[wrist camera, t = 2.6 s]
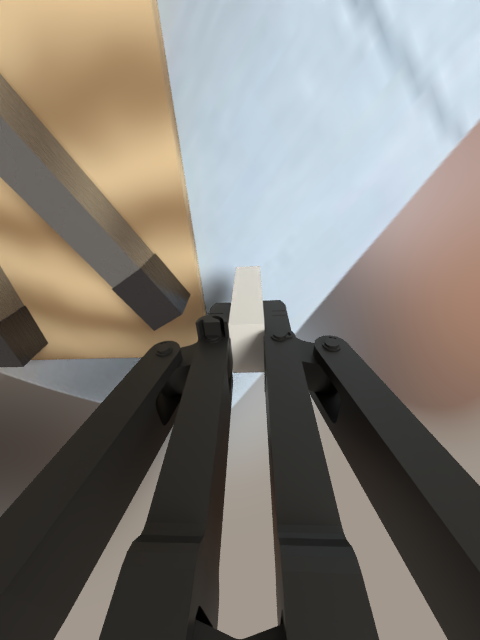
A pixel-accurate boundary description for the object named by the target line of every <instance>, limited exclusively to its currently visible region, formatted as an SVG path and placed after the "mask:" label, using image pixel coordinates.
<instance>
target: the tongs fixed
mask: <svg viewBox="0 0 480 640" xmlns="http://www.w3.org/2000/svg"><path fill="white" fill-rule="evenodd" d="M47 344H48V342H47V340H46V338H45V337H44V335H43V333H42V332H41V330H40V328H39V327H38V325H37V323H36V322H35V320H34V318H33V317H32V315H31V313H30V312H29V310H28V309H27V307H26V306H25V305H24V304H23V302H22V301H21V299H20V297H19V296H18V294H17V292H16V291H15V289H14V287H13V286H12V284H11V282H10V281H9V279H8V278H7V276H6V274H5V273H4V271H3V269H2V268H1V266H0V367H24V366H25V365H26V364H27V363H28V362H29V361H30V360H31V359H32V358H33V357H34V356H35V355H36V354H37V353H38V352H40V351H41V350H42V349H43V348H44V347H45V346H46V345H47Z"/></svg>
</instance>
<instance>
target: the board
mask: <svg viewBox="0 0 480 640" xmlns="http://www.w3.org/2000/svg"><path fill="white" fill-rule="evenodd" d="M0 74H1V75H2V76H3V77H4V79H5V80H6V81H7V82H8V83H9V84H10V86H11V87H12V88H13V89H14V90H15V91H16V93H17V94H18V95H19V96H20V97H21V99H22V100H23V101H24V102H25V103H26V104H27V106H28V107H29V108H30V109H31V110H32V111H33V113H34V114H35V115H36V116H37V117H38V118H39V120H40V121H41V122H42V123H43V124H44V125H45V127H46V128H47V129H48V130H49V131H50V133H51V134H52V135H53V136H54V137H55V138H56V140H57V141H58V142H59V143H60V144H61V145H62V147H63V148H64V149H65V150H66V151H67V152H68V154H69V155H70V156H71V157H72V158H73V159H74V161H75V162H76V163H77V164H78V165H79V167H80V168H81V169H82V170H83V171H84V172H85V174H86V175H87V176H88V177H89V178H90V179H91V181H92V182H93V183H94V184H95V185H96V186H97V188H98V189H99V190H100V191H101V192H102V194H103V195H104V196H105V197H106V198H107V199H108V201H109V202H110V203H111V204H112V205H113V206H114V208H115V209H116V210H117V211H118V212H119V213H120V215H121V216H122V217H123V218H124V219H125V220H126V222H127V223H128V224H129V225H130V226H131V228H132V229H133V230H134V231H135V232H136V233H137V235H138V236H139V237H140V238H141V239H142V240H143V242H144V243H145V244H146V245H147V246H148V247H149V249H150V250H151V251H152V252H153V253H156V254H157V256H158V257H159V258H160V259H161V260H162V262H163V263H164V264H165V265H166V266H167V267H168V269H169V270H170V271H171V272H172V273H173V274H174V276H175V277H176V278H177V279H178V280H179V282H180V283H181V284H182V285H183V286H184V287H185V289H186V290H187V291H188V292H189V293H190V298H189V300H188V302H187V305H186V307H185V309H184V312H183V314H182V315H180V316H179V317H177V318H175V319H174V320H172V321H170V322H169V323H167V324H165V325H164V326H162V327H160V328H159V329H157V330H155V331H154V330H153V329H152V328H151V327H150V326H149V325H148V324H147V323H145V322H144V321H143V320H142V319H141V318H140V317H139V316H138V315H137V314H136V313H135V312H134V311H133V310H132V309H131V308H130V307H129V306H128V305H127V304H126V303H125V302H124V301H123V300H122V299H121V298H120V297H119V296H118V295H117V294H116V293H115V292H114V291H113V290H112V287H111V286H110V285H109V284H108V283H107V282H106V281H105V280H104V279H103V278H102V277H101V276H100V275H99V274H98V273H97V272H96V271H95V270H94V269H93V268H92V267H91V266H90V265H89V264H88V263H87V262H86V261H85V260H84V259H83V258H82V257H81V256H80V255H79V254H78V253H77V252H76V251H75V250H74V249H73V248H72V247H71V246H70V245H69V244H68V243H67V242H66V241H65V240H64V239H63V238H62V237H61V236H60V235H59V234H58V233H57V232H55V231H54V230H53V229H52V228H51V227H50V226H49V225H48V224H47V223H46V222H45V221H44V220H43V219H42V218H41V217H40V216H39V215H38V214H37V213H36V212H35V211H34V210H33V209H32V208H31V207H30V206H29V205H28V204H27V203H26V202H25V201H24V200H23V199H22V198H21V197H20V196H19V195H18V194H17V193H16V192H15V191H14V190H13V189H12V188H11V187H10V186H9V185H8V184H7V183H6V182H5V181H4V180H3V179H2V178H1V177H0V266H1V268H2V269H3V271H4V273H5V274H6V276H7V278H8V279H9V281H10V282H11V284H12V286H13V287H14V289H15V291H16V292H17V294H18V296H19V297H20V299H21V301H22V302H23V304H24V305H25V306H26V307H27V309H28V310H29V312H30V313H31V315H32V317H33V318H34V320H35V322H36V323H37V325H38V327H39V328H40V330H41V332H42V333H43V335H44V337H45V338H46V340H47V342H48V344H47V345H46V346H45V347H44V348H43V349H42V350H41V351H40V352H38V353H37V354H36V355H35V356H34V357H33V358H32V359H31V360H49V359H94V358H140V357H143V356H144V355H145V354H146V353H147V351H148V350H149V349H150V348H151V347H152V346H154V345H155V344H157V343H159V342H163V341H175V342H177V343H178V344H179V345H180V348H181V347H185V346H189V345H192V344H194V343H196V342H197V341H198V335H197V329H196V324H195V323H196V321H197V320H198V319H199V318H201V317H202V316H205V315H206V309H205V303H204V297H203V290H202V284H201V278H200V271H199V265H198V259H197V252H196V246H195V240H194V233H193V227H192V221H191V214H190V208H189V202H188V195H187V189H186V183H185V176H184V170H183V164H182V157H181V151H180V144H179V138H178V132H177V125H176V119H175V113H174V106H173V100H172V94H171V87H170V81H169V75H168V68H167V62H166V56H165V49H164V43H163V37H162V30H161V24H160V18H159V11H158V5H157V0H0Z"/></svg>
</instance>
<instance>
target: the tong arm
mask: <svg viewBox="0 0 480 640" xmlns="http://www.w3.org/2000/svg"><path fill="white" fill-rule="evenodd" d="M0 177H1V178H2V179H3V180H4V181H5V182H6V183H7V184H8V185H9V186H10V187H11V188H12V189H13V190H14V191H15V192H16V193H17V194H18V195H19V196H20V197H21V198H22V199H23V200H24V201H25V202H26V203H27V204H28V205H29V206H30V207H31V208H32V209H33V210H34V211H35V212H36V213H37V214H38V215H39V216H40V217H41V218H42V219H43V220H44V221H45V222H46V223H47V224H48V225H49V226H50V227H51V228H52V229H53V230H54V231H55V232H57V233H58V234H59V235H60V236H61V237H62V238H63V239H64V240H65V241H66V242H67V243H68V244H69V245H70V246H71V247H72V248H73V249H74V250H75V251H76V252H77V253H78V254H79V255H80V256H81V257H82V258H83V259H84V260H85V261H86V262H87V263H88V264H89V265H90V266H91V267H92V268H93V269H94V270H95V271H96V272H97V273H98V274H99V275H100V276H101V277H102V278H103V279H104V280H105V281H106V282H107V283H108V284H109V285H110V286H111V287H112V290H113V291H114V292H115V293H116V294H117V295H118V296H119V297H120V298H121V299H122V300H123V301H124V302H125V303H126V304H127V305H128V306H129V307H130V308H131V309H132V310H133V311H134V312H135V313H136V314H137V315H138V316H139V317H140V318H141V319H142V320H143V321H144V322H145V323H147V324H148V325H149V326H150V327H151V328H152V329H153V330H154V331H155V330H157V329H159V328H160V327H162V326H164V325H165V324H167V323H169V322H170V321H172V320H174V319H175V318H177V317H179V316H180V315H182V314H183V312H184V309H185V307H186V305H187V302H188V300H189V298H190V293H189V292H188V291H187V290H186V289H185V287H184V286H183V285H182V284H181V283H180V282H179V280H178V279H177V278H176V277H175V276H174V274H173V273H172V272H171V271H170V270H169V269H168V267H167V266H166V265H165V264H164V263H163V262H162V260H161V259H160V258H159V257H158V256H157V254H156V253H153V252H152V251H151V250H150V249H149V247H148V246H147V245H146V244H145V243H144V242H143V240H142V239H141V238H140V237H139V236H138V235H137V233H136V232H135V231H134V230H133V229H132V228H131V226H130V225H129V224H128V223H127V222H126V220H125V219H124V218H123V217H122V216H121V215H120V213H119V212H118V211H117V210H116V209H115V208H114V206H113V205H112V204H111V203H110V202H109V201H108V199H107V198H106V197H105V196H104V195H103V194H102V192H101V191H100V190H99V189H98V188H97V186H96V185H95V184H94V183H93V182H92V181H91V179H90V178H89V177H88V176H87V175H86V174H85V172H84V171H83V170H82V169H81V168H80V167H79V165H78V164H77V163H76V162H75V161H74V159H73V158H72V157H71V156H70V155H69V154H68V152H67V151H66V150H65V149H64V148H63V147H62V145H61V144H60V143H59V142H58V141H57V140H56V138H55V137H54V136H53V135H52V134H51V133H50V131H49V130H48V129H47V128H46V127H45V125H44V124H43V123H42V122H41V121H40V120H39V118H38V117H37V116H36V115H35V114H34V113H33V111H32V110H31V109H30V108H29V107H28V106H27V104H26V103H25V102H24V101H23V100H22V99H21V97H20V96H19V95H18V94H17V93H16V91H15V90H14V89H13V88H12V87H11V86H10V84H9V83H8V82H7V81H6V80H5V79H4V77H3V76H2V75H1V74H0Z"/></svg>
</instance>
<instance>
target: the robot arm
mask: <svg viewBox="0 0 480 640" xmlns="http://www.w3.org/2000/svg"><path fill="white" fill-rule="evenodd" d="M195 324H196V329H197V335H198V341H197V342H196V343H194V344H192V345H189V346H185V347H181V348H180V345H179V344H178V343H177V342H175V341H163V342H159V343H157V344H155V345H154V346H152V347H151V348H150V349H149V350H148V351H147V353H146V354H145V355H144V356H143V357H142V358H141V359H140V360H139V362H138V363H137V364H136V365H135V366H134V367H133V368H132V369H131V371H130V372H129V373H128V374H127V375H126V376H125V377H124V378H123V380H122V381H121V382H120V383H119V384H118V385H117V386H116V387H115V389H114V390H113V391H112V392H111V393H110V394H109V395H108V396H107V398H106V399H105V400H104V401H103V402H102V403H101V404H100V406H99V407H98V408H97V409H96V410H95V411H94V412H93V413H92V415H91V416H90V417H89V418H88V419H87V420H86V421H85V422H84V424H83V425H82V426H81V427H80V428H79V429H78V430H77V432H76V433H75V434H74V435H73V436H72V437H71V438H70V439H69V441H68V442H67V443H66V444H65V445H64V446H63V447H62V448H61V449H60V451H59V452H58V453H57V454H56V455H55V456H54V457H53V458H52V460H51V461H50V462H49V463H48V464H47V465H46V466H45V467H44V469H43V470H42V471H41V472H40V473H39V474H38V475H37V476H36V478H35V479H34V480H33V481H32V482H31V483H30V484H29V485H28V487H27V488H26V489H25V490H24V491H23V492H22V493H21V495H20V496H19V497H18V498H17V499H16V500H15V501H14V503H13V504H12V505H11V506H10V507H9V508H8V509H7V510H6V511H5V513H4V514H3V515H2V516H1V517H0V640H54V638H55V636H56V635H57V633H58V631H59V630H60V628H61V626H62V624H63V623H64V621H65V619H66V618H67V616H68V614H69V612H70V610H71V609H72V607H73V605H74V603H75V601H76V599H77V598H78V596H79V594H80V592H81V591H82V589H83V587H84V585H85V583H86V582H87V580H88V578H89V576H90V574H91V572H92V571H93V569H94V567H95V565H96V564H97V562H98V560H99V558H100V556H101V555H102V553H103V551H104V549H105V547H106V546H107V544H108V542H109V540H110V538H111V537H112V535H113V533H114V531H115V529H116V527H117V525H118V524H119V522H120V520H121V519H122V517H123V515H124V513H125V511H126V509H127V508H128V506H129V504H130V502H131V500H132V499H133V497H134V495H135V493H136V491H137V490H138V488H139V486H140V484H141V482H142V480H143V479H144V477H145V475H146V473H147V472H148V470H149V468H150V466H151V464H152V463H153V461H154V459H155V457H156V455H157V454H158V452H159V450H160V448H161V446H162V444H163V443H164V441H165V439H166V437H167V435H168V434H169V432H170V430H171V428H172V427H173V429H172V433H171V436H170V440H169V443H168V447H167V450H166V454H165V457H164V461H163V464H162V468H161V472H160V475H159V479H158V482H157V485H156V489H155V492H154V496H153V500H152V503H151V507H150V510H149V514H148V517H147V521H146V524H145V527H144V530H143V531H142V533H141V535H140V536H139V537H138V538H137V539H136V540H134V541H133V542H132V544H131V546H130V548H129V550H128V551H127V554H126V557H125V559H124V562H123V564H122V567H121V570H120V574H119V577H118V580H117V583H116V586H115V590H114V594H113V596H112V600H111V602H110V606H109V609H108V612H107V615H106V619H105V622H104V625H103V628H102V631H101V634H100V637H99V640H379V637H378V634H377V630H376V626H375V622H374V618H373V614H372V611H371V607H370V603H369V600H368V596H367V592H366V588H365V584H364V581H363V577H362V573H361V570H360V566H359V563H358V560H357V557H356V555H355V552H354V550H353V548H352V546H351V545H350V544H349V542H348V541H347V540H346V537H345V535H344V532H343V529H342V525H341V522H340V517H339V513H338V509H337V505H336V501H335V496H334V493H333V488H332V484H331V481H330V476H329V472H328V468H327V464H326V459H325V455H324V451H323V447H322V443H321V439H320V435H319V431H318V427H317V422H316V418H315V414H314V410H313V406H312V402H311V398H310V395H311V397H312V399H313V400H314V402H315V404H316V406H317V408H318V409H319V411H320V413H321V415H322V416H323V418H324V420H325V422H326V424H327V425H328V427H329V429H330V431H331V432H332V434H333V436H334V438H335V440H336V441H337V443H338V445H339V446H340V448H341V450H342V452H343V454H344V456H345V457H346V459H347V461H348V463H349V464H350V466H351V468H352V470H353V471H354V473H355V475H356V477H357V478H358V480H359V482H360V484H361V486H362V487H363V489H364V491H365V493H366V494H367V496H368V498H369V500H370V502H371V504H372V505H373V507H374V509H375V511H376V512H377V514H378V516H379V518H380V520H381V521H382V523H383V525H384V527H385V529H386V530H387V532H388V534H389V536H390V537H391V539H392V541H393V543H394V545H395V546H396V548H397V550H398V552H399V553H400V555H401V557H402V559H403V561H404V562H405V564H406V566H407V568H408V569H409V571H410V573H411V575H412V576H413V578H414V580H415V582H416V584H417V585H418V587H419V589H420V591H421V592H422V594H423V596H424V598H425V600H426V601H427V603H428V605H429V607H430V609H431V610H432V612H433V614H434V616H435V617H436V619H437V621H438V623H439V624H440V626H441V628H442V630H443V632H444V633H445V635H446V637H447V639H448V640H480V486H479V485H478V484H477V483H476V482H475V480H474V479H473V478H472V477H471V476H470V475H469V474H468V473H467V472H466V471H465V470H464V469H463V468H462V466H460V465H459V463H458V462H457V461H456V460H455V459H454V458H453V457H452V456H451V455H450V454H449V452H448V451H447V450H446V449H445V448H444V447H443V446H442V445H441V444H440V443H439V442H438V441H437V440H436V438H435V437H434V436H433V435H432V434H431V433H430V432H429V431H428V430H427V429H426V428H425V426H424V425H423V424H422V423H421V422H420V421H419V420H418V419H417V418H416V417H415V416H414V415H413V414H412V413H411V411H410V410H409V409H408V408H407V407H406V406H405V405H404V404H403V403H402V402H401V401H400V399H399V398H398V397H397V396H396V395H395V394H394V393H393V392H392V391H391V390H390V389H389V388H388V387H387V385H386V384H384V382H383V381H382V380H381V379H380V378H379V377H378V376H377V375H376V374H375V373H374V371H373V370H372V369H371V368H370V367H369V366H368V365H367V364H366V363H365V362H364V361H363V360H362V359H361V357H360V356H359V355H358V354H357V353H356V352H355V351H354V350H353V349H352V348H351V347H350V346H349V345H348V343H347V342H345V341H344V340H343V339H341V338H338V337H335V336H322V337H319V338H318V339H316V340H315V343H311V342H306V341H302V340H300V339H298V338H296V336H295V334H294V333H293V332H292V331H291V328H290V323H289V319H288V316H287V311H286V306H285V304H284V303H283V302H282V301H281V300H272V301H263V300H262V287H261V275H260V266H250V267H236V272H235V279H234V286H233V294H232V301H231V303H216V304H215V305H214V306H212V307H211V310H210V314H209V315H205V316H202V317H201V318H199V319H198V320H197V321H196V323H195ZM232 370H233V373H246V372H265V395H266V413H267V430H268V447H269V465H270V482H271V499H272V517H273V534H274V551H275V568H276V595H277V616H278V626H277V627H274V628H271V629H269V630H266V631H263V632H261V633H258V634H256V635H253V636H250V637H248V638H245V639H235V638H233V637H231V636H229V635H227V634H225V633H223V632H221V631H219V630H217V624H218V608H219V560H220V547H221V534H222V521H223V507H224V494H225V481H226V468H227V455H228V441H229V428H230V415H231V402H232V389H233V376H232ZM309 393H310V394H309ZM173 425H174V426H173Z"/></svg>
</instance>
